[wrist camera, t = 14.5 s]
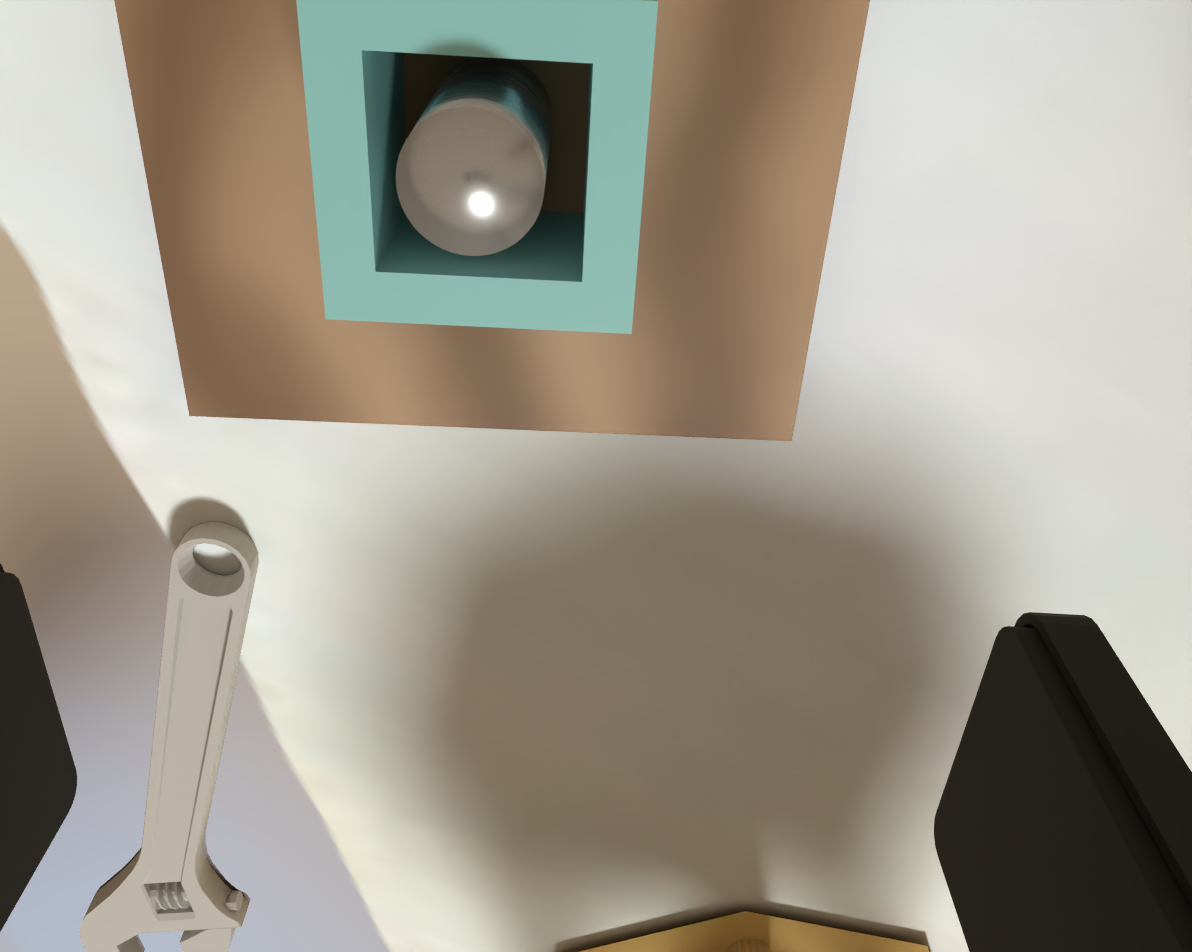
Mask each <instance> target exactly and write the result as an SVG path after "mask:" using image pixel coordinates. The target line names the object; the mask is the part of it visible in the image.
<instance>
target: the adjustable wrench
mask: <svg viewBox="0 0 1192 952" xmlns="http://www.w3.org/2000/svg"><path fill="white" fill-rule="evenodd" d="M201 543H207V544H215V545H218V546H221V547H224V548H226V549H227V550H229V551H230V552H232V553H233V554H234V555H235V556H236V557H237V558H238V559H239V560H240V561H241V564H242V566H241V568H240V570H239V571H238V572H237V573H235V574H231V575H218V574H215V573H212V572H209V571H207V570H206V569H204V568H203V567H201V566H200V565H199V564H198V562H197V561H196V560H195V558H194V556H193V550H194V547H195V546H196V545H197V544H201ZM258 562H259V560H258V551H257V549H256V546H255V544H254V542H253V541H252V540H251V539H250V538H249V537H248V535H247V534H245V533H244V532H242V531H241V530H239V529H238V528H236V527H234V526H231V525H228V524H226V523H219V522H207V523H200V524H198V525H196V526H194V527H192V528H191V529H190V530H189V531H188V532H187V533H186V534H185V535H184V537H183V538H182V540H181V542H180V543H179V545H178V547H177V548H176V550H175V552H174V554H173V557H172V560H171V567H170V578H169V588H168V597H167V607H166V616H165V627H164V636H163V646H162V655H161V665H160V675H159V685H158V695H157V704H156V714H155V724H154V734H153V744H152V754H151V763H150V773H149V783H148V794H147V802H146V812H145V822H144V831H143V841H142V847H141V848H140V850H139V851H138V852H137V853H136V854H135V855H134V857H133V858H132V859H131V860H130V861H129V862H128V863H127V864H126V865H125V866H124V867H123V868H122V869H121V870H120V871H118V872H117V873H116V874H115V875H114V876H112V877H111V878H110V879H109V880H108V881H107V882H105V883H104V884H103V885H102V886H101V887H100V888H99V889H98V891H97V892H96V894H95V896H94V898H93V900H92V902H91V905H90V907H89V909H88V911H87V913H86V915H85V917H84V919H83V921H82V924H81V927H80V938H81V941H82V943H83V946H84V948H85V949H86V951H87V952H144V950H145V948H144V946H143V944H142V942H141V940H140V938H139V936H138V934H139V933H155V932H170V931H184V933H183V935H182V938H181V941H180V945H181V947H182V948H183V951H184V952H227V951H228V949H229V946H230V943H231V940H232V937H233V934H234V931H235V928H236V927H242V924H243V921H244V917H245V914H246V911H247V908H248V905H249V902H250V898H249V896H248V895H247V894H246V893H244V892H242V891H240V890H238V889H236V888H235V887H234V886H233V885H231V884H230V883H229V882H228V881H227V880H226V879H225V878H224V876H223V875H222V874H221V873H220V871H219V870H218V869H217V868H216V866H215V865H214V864H213V862H212V860H211V859H210V856H209V854H208V851H207V847H206V828H207V823H208V818H209V813H210V808H211V804H212V798H213V794H214V789H215V784H216V779H217V774H218V769H219V764H220V759H221V754H222V749H223V744H224V739H225V734H226V729H227V724H228V720H229V715H230V710H231V705H232V700H233V695H234V690H235V685H236V679H237V675H238V670H239V665H240V660H241V659H240V653H241V648H242V643H243V638H244V633H245V628H246V623H247V618H248V613H249V608H250V603H251V598H252V593H253V588H254V583H255V578H256V572H257V567H258Z"/></svg>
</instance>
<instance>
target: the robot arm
mask: <svg viewBox="0 0 1192 952" xmlns="http://www.w3.org/2000/svg"><path fill="white" fill-rule="evenodd" d="M76 786H77V774H76V768H75V765H74V762H73V758H72V755H71V751H70V748H69V744H68V741H67V738H66V734H65V731H64V728H63V724H62V721H61V717H60V714H59V711H58V707H57V704H56V701H55V697H54V694H53V690H52V687H51V684H50V680H49V677H48V674H47V670H46V667H45V663H44V660H43V657H42V653H41V650H40V646H39V643H38V640H37V636H36V633H35V630H34V626H33V623H32V620H31V616H30V613H29V609H28V606H27V603H26V599H25V596H24V592H23V589H22V586H21V584H20V581H19V579H18V578H17V577H16V576H15V575H14V574H11V573H6V572H4V570H3V567H2V565H1V564H0V931H1V930H2V928H3V926H4V924H5V923H6V921H7V919H8V917H9V916H10V914H11V912H12V910H13V909H14V907H15V905H16V903H17V902H18V900H19V898H20V896H21V895H22V893H23V891H24V889H25V888H26V886H27V884H28V882H29V880H30V879H31V877H32V875H33V874H34V872H35V870H36V868H37V867H38V865H39V863H40V861H41V860H42V858H43V856H44V854H45V853H46V851H47V849H48V847H49V846H50V844H51V842H52V840H53V839H54V837H55V835H56V833H57V832H58V830H59V828H60V826H61V825H62V823H63V821H64V819H65V818H66V816H67V814H68V812H69V810H70V808H71V806H72V804H73V800H74V797H75V793H76ZM934 838H935V846H936V850H937V854H938V857H939V860H940V863H941V866H942V870H943V873H944V876H945V879H946V882H947V885H948V888H949V891H950V894H951V897H952V900H953V903H954V906H955V909H956V912H957V915H958V918H959V921H960V924H961V927H962V930H963V933H964V936H965V939H966V942H967V945H968V948H969V951H970V952H1192V772H1191V771H1190V769H1189V767H1188V766H1187V764H1186V763H1185V761H1184V760H1183V758H1182V757H1181V755H1180V753H1179V752H1178V750H1177V749H1176V747H1175V746H1174V744H1173V742H1172V741H1171V739H1170V738H1169V736H1168V735H1167V733H1166V732H1165V730H1164V728H1163V727H1162V725H1161V724H1160V722H1159V721H1158V719H1157V717H1156V716H1155V714H1154V713H1153V711H1152V710H1151V708H1150V706H1149V705H1148V703H1147V702H1146V700H1145V699H1144V697H1143V696H1142V694H1141V692H1140V691H1139V689H1138V688H1137V686H1136V685H1135V683H1134V681H1133V680H1132V678H1131V677H1130V675H1129V674H1128V672H1127V671H1126V669H1125V667H1124V666H1123V664H1122V663H1121V661H1120V660H1119V658H1118V656H1117V655H1116V653H1115V652H1114V650H1113V649H1112V647H1111V646H1110V644H1109V642H1108V641H1107V639H1106V638H1105V636H1104V635H1103V633H1102V631H1101V630H1100V628H1099V627H1098V625H1097V624H1096V623H1095V622H1094V621H1093V620H1092V619H1091V618H1089V617H1087V616H1085V615H1068V614H1049V613H1031V612H1029V613H1025V614H1023V615H1022V616H1021V617H1020V618H1019V619H1018V620H1017V622H1016V624H1015V626H1014V627H1010V626H1007V627H1003V628H1002V629H1001V630H1000V631H999V633H998V635H997V637H996V639H995V642H994V645H993V648H992V651H991V654H990V657H989V660H988V663H987V666H986V668H985V671H984V674H983V677H982V680H981V683H980V686H979V689H978V692H977V695H976V698H975V701H974V704H973V707H972V709H971V712H970V715H969V718H968V721H967V724H966V727H965V730H964V733H963V736H962V739H961V742H960V745H959V748H958V750H957V753H956V756H955V759H954V762H953V765H952V768H951V771H950V774H949V777H948V780H947V783H946V786H945V789H944V791H943V794H942V797H941V800H940V803H939V806H938V809H937V812H936V816H935V823H934Z"/></svg>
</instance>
